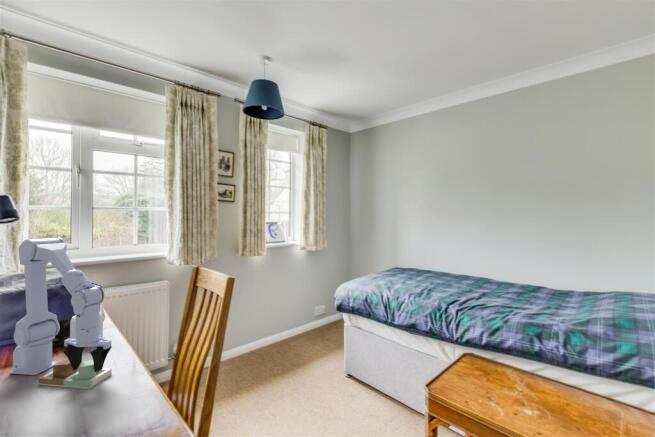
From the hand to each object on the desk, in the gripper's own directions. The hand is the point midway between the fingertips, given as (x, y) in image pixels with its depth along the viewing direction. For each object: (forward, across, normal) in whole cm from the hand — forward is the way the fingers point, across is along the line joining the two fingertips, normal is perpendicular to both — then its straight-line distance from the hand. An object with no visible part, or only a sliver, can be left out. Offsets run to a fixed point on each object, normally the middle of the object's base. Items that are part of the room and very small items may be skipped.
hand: (87, 369), depth 91 cm
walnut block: (+3, +8, 0) cm, 8 cm away
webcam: (+4, +35, -22) cm, 41 cm away
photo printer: (+4, +25, -24) cm, 35 cm away
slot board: (+3, +4, 0) cm, 5 cm away
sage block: (+3, 0, 0) cm, 3 cm away
